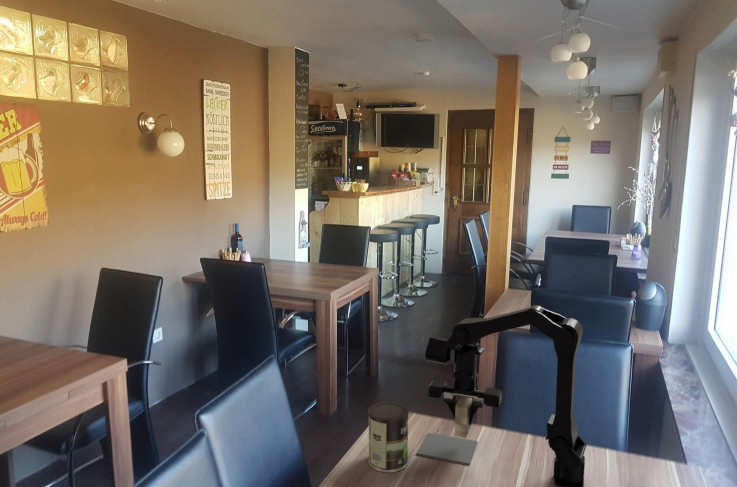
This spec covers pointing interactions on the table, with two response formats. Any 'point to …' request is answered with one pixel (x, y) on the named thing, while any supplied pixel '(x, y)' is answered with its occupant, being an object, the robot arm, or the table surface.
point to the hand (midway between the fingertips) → (463, 423)
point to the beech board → (462, 416)
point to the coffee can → (388, 436)
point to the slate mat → (448, 448)
